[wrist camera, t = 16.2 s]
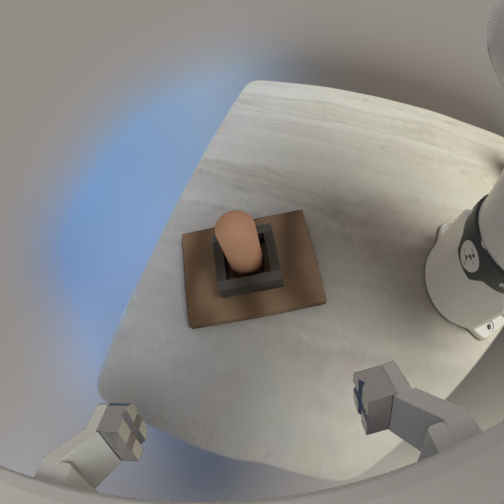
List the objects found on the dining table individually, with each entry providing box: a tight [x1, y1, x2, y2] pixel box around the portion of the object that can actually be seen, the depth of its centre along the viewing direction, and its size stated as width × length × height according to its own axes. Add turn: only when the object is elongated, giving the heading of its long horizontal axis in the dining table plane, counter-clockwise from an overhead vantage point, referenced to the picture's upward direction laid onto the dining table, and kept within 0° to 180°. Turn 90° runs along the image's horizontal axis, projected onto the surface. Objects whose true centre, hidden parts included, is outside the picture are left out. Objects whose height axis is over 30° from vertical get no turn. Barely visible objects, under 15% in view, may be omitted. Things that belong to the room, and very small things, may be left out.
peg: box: [215, 211, 264, 278], centre depth 38 cm, size 4×4×10 cm
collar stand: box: [182, 210, 326, 329], centre depth 42 cm, size 18×14×4 cm
